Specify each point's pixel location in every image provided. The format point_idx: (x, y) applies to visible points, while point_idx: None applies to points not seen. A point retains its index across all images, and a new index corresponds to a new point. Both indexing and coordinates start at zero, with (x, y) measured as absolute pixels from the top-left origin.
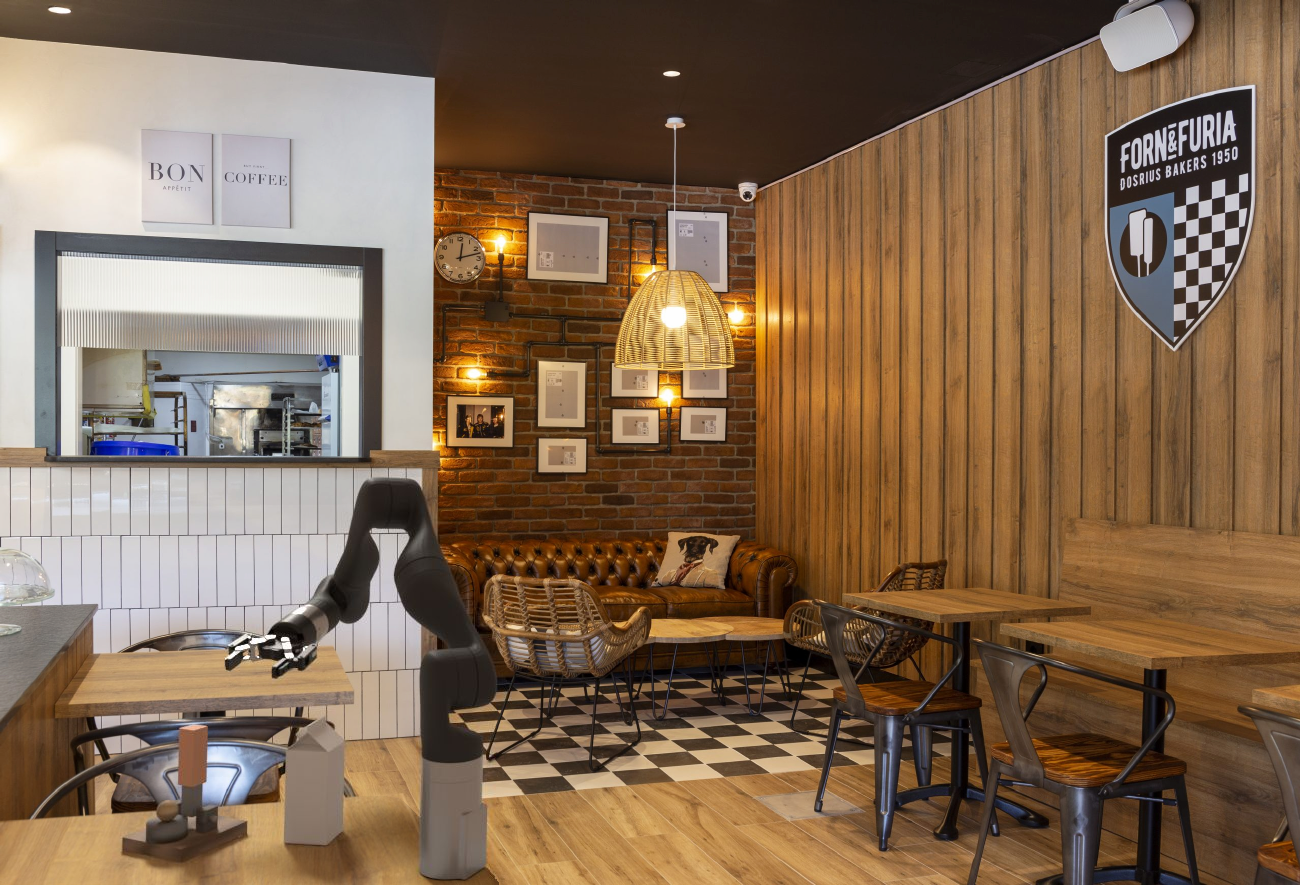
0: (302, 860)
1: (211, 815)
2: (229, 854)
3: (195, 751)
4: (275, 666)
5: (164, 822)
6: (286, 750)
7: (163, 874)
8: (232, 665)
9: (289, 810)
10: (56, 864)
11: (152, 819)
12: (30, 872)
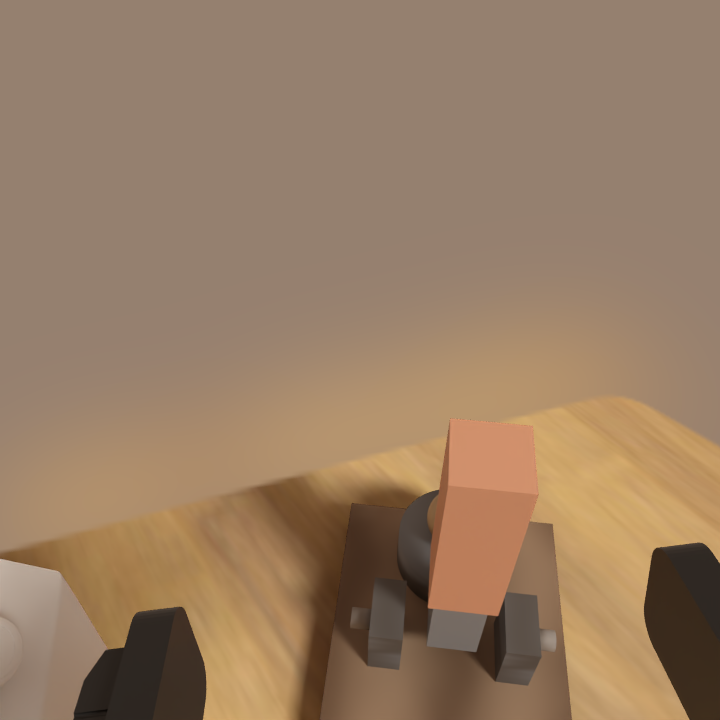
0: None
1: (367, 612)
2: (269, 600)
3: (441, 484)
4: (144, 620)
5: None
6: (59, 573)
7: (344, 463)
8: (673, 647)
9: None
10: (596, 444)
11: None
12: (600, 405)
